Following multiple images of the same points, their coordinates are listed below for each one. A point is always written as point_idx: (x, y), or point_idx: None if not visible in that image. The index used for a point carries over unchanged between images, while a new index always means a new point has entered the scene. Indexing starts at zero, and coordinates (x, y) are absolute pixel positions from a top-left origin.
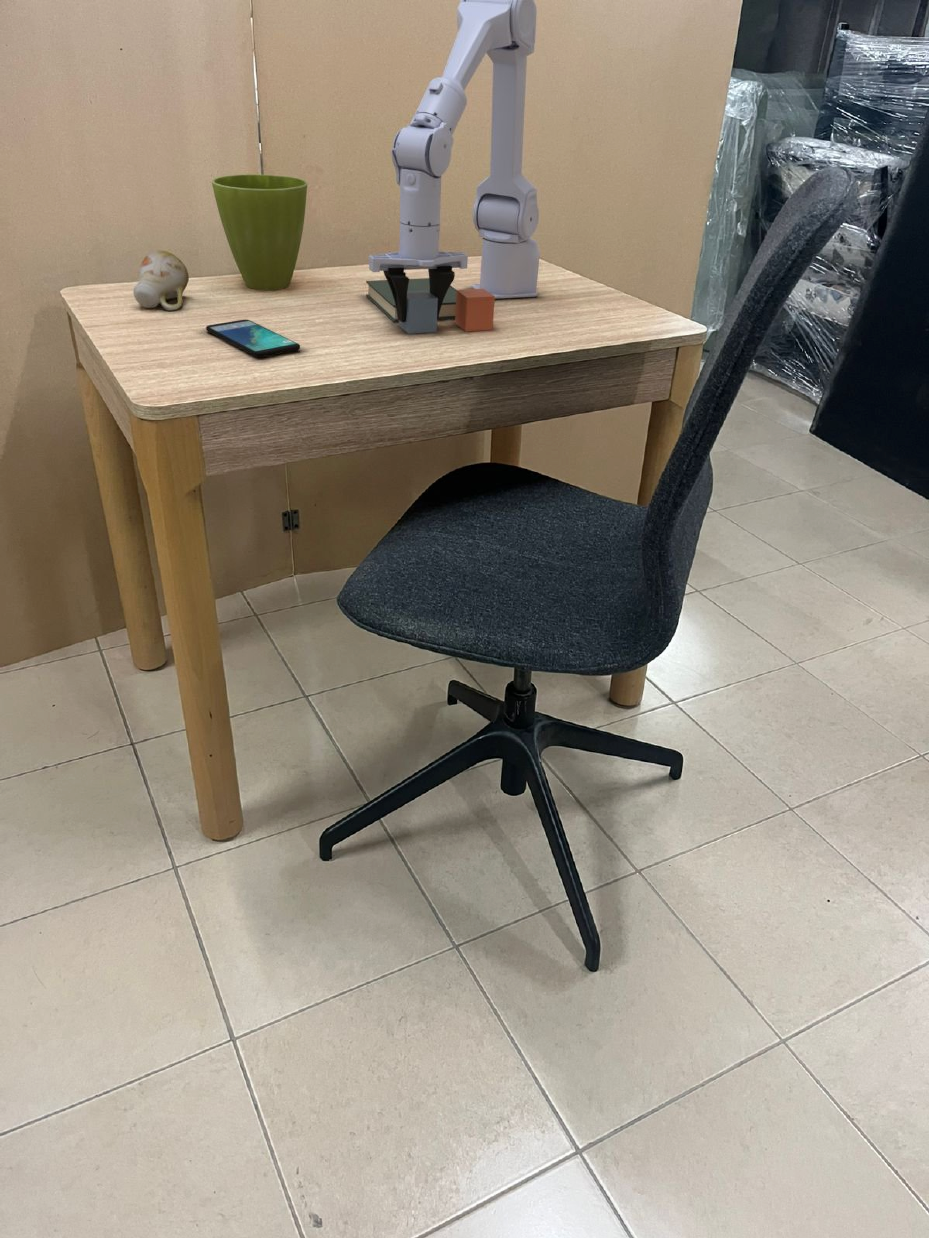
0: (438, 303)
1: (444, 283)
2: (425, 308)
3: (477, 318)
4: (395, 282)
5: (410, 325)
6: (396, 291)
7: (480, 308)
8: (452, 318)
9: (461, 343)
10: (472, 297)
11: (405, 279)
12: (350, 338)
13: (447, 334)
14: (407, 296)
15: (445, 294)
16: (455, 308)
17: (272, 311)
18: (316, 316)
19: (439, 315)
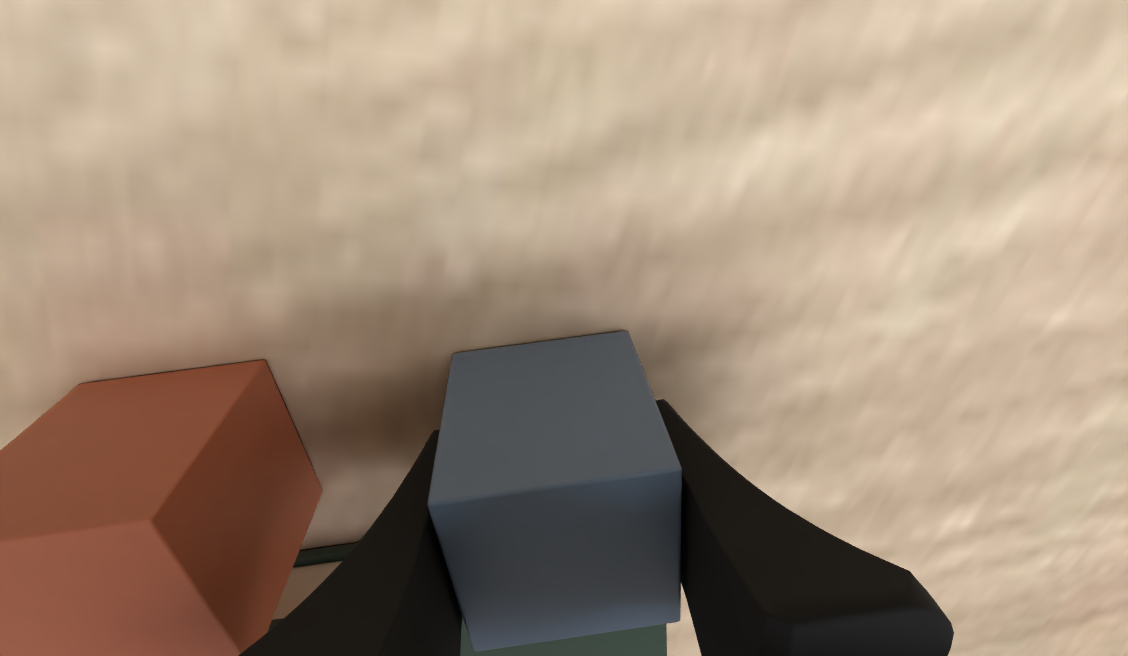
0: (419, 496)
1: (337, 628)
2: (531, 439)
3: (145, 418)
4: (896, 572)
5: (625, 357)
6: (808, 526)
7: (80, 469)
8: (331, 548)
9: (305, 126)
10: (97, 529)
11: (811, 604)
12: (965, 282)
13: (388, 319)
14: (662, 540)
15: (348, 555)
16: (301, 600)
17: (1060, 607)
18: (938, 565)
19: None
